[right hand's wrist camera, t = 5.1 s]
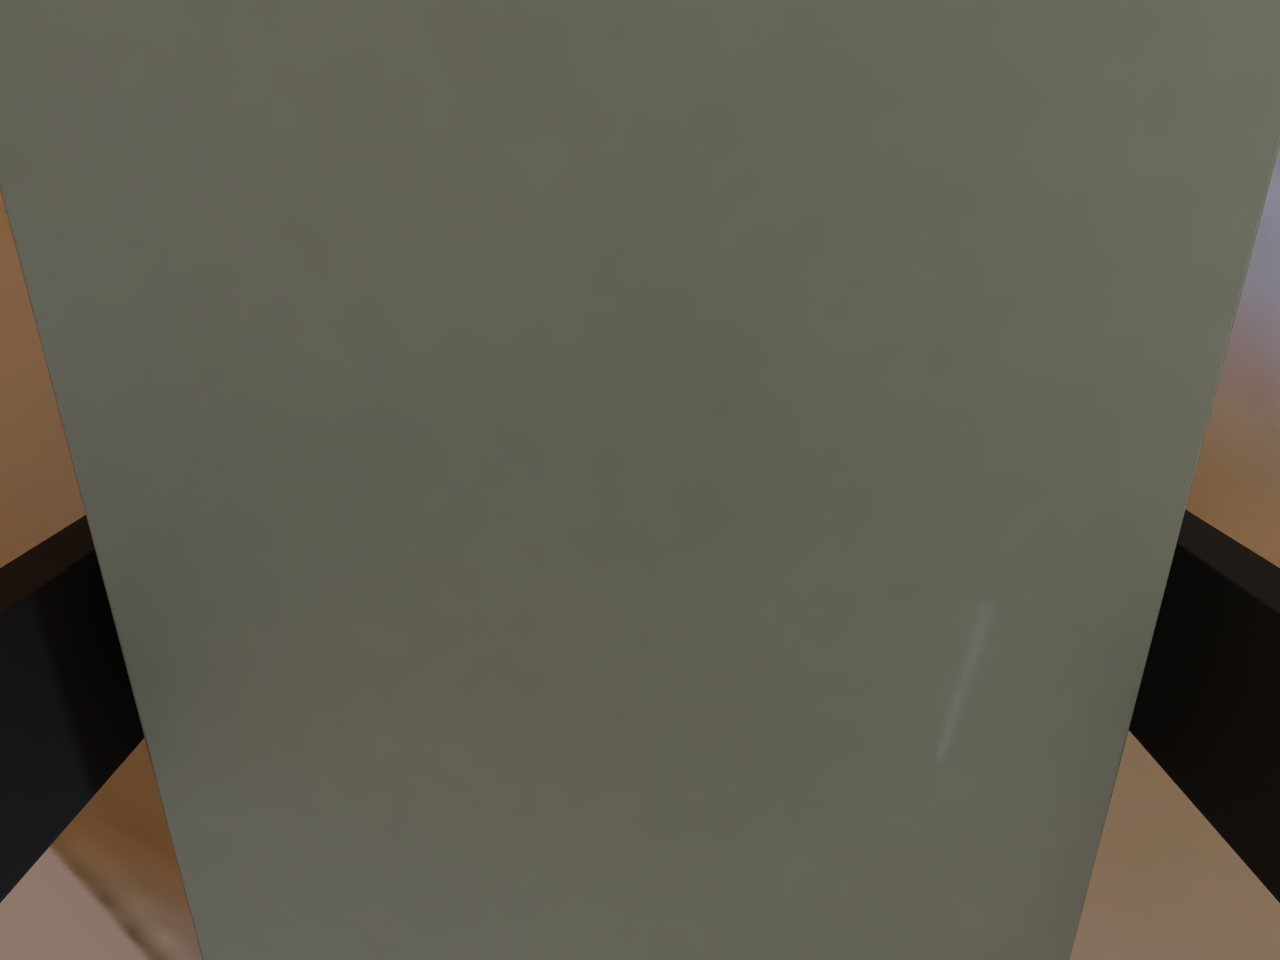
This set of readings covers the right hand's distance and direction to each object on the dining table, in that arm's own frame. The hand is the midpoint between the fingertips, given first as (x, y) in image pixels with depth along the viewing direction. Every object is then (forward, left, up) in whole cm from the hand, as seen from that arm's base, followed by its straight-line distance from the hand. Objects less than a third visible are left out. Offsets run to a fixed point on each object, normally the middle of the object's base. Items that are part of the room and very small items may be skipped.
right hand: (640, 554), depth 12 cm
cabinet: (+4, +2, -7) cm, 8 cm away
